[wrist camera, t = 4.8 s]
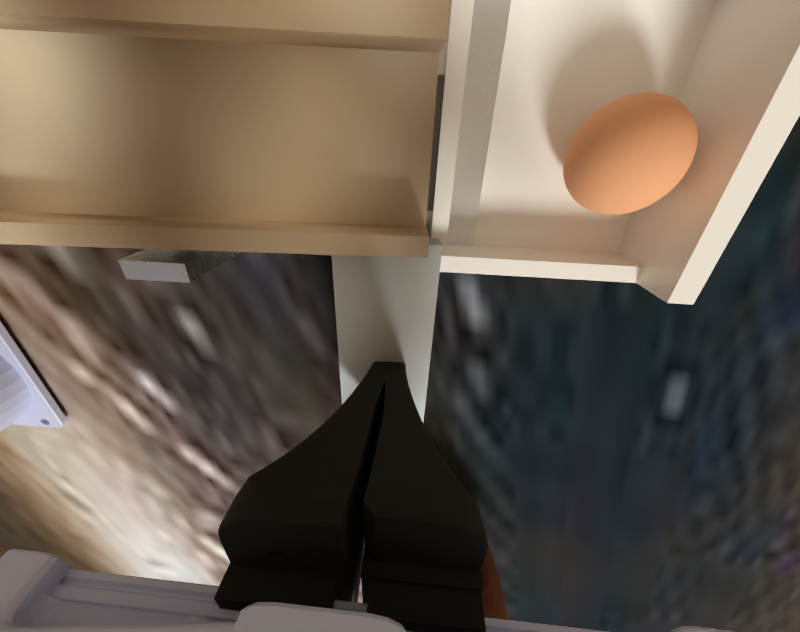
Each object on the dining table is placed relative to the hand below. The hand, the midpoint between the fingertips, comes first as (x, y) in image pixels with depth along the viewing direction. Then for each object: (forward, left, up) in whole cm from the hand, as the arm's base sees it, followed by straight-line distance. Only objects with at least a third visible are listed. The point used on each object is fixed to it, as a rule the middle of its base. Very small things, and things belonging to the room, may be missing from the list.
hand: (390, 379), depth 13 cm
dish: (+5, +9, -3) cm, 11 cm away
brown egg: (+7, +8, -1) cm, 11 cm away
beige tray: (-7, +4, 0) cm, 8 cm away
